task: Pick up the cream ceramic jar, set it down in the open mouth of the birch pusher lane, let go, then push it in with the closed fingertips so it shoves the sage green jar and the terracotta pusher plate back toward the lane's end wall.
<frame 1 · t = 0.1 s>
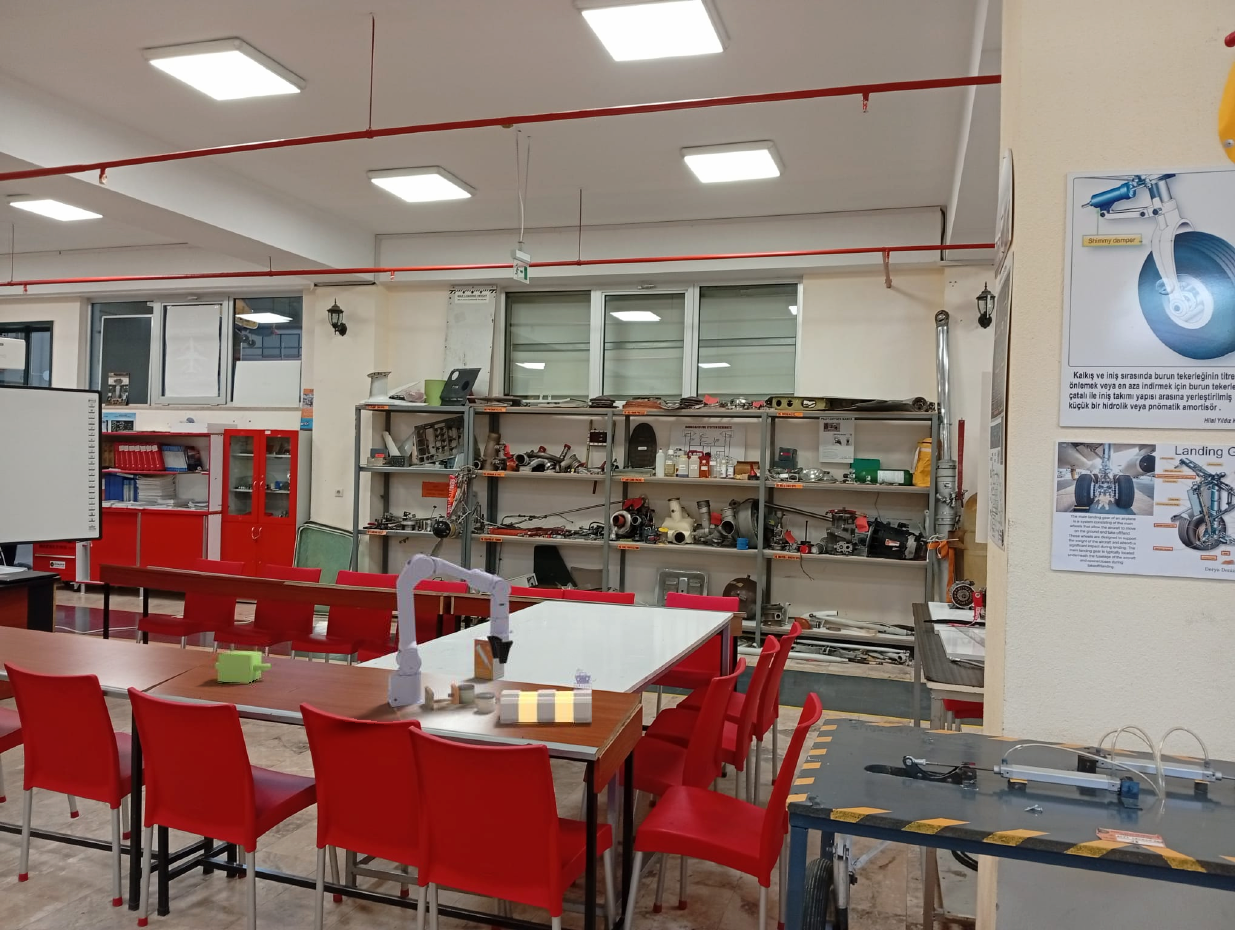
hand: (499, 660, 272), 10 cm above the table, tool pointing down, fingers open, 7 cm apart
pusher: (452, 695, 257), point 3 cm above the table, slide at 0.0 cm
small box: (489, 677, 293), on the table
lane: (461, 705, 258), on the table
gearbox: (243, 681, 290), on the table
cream jar: (486, 712, 251), on the table
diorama: (547, 720, 244), on the table
green jar: (466, 702, 259), resting on lane
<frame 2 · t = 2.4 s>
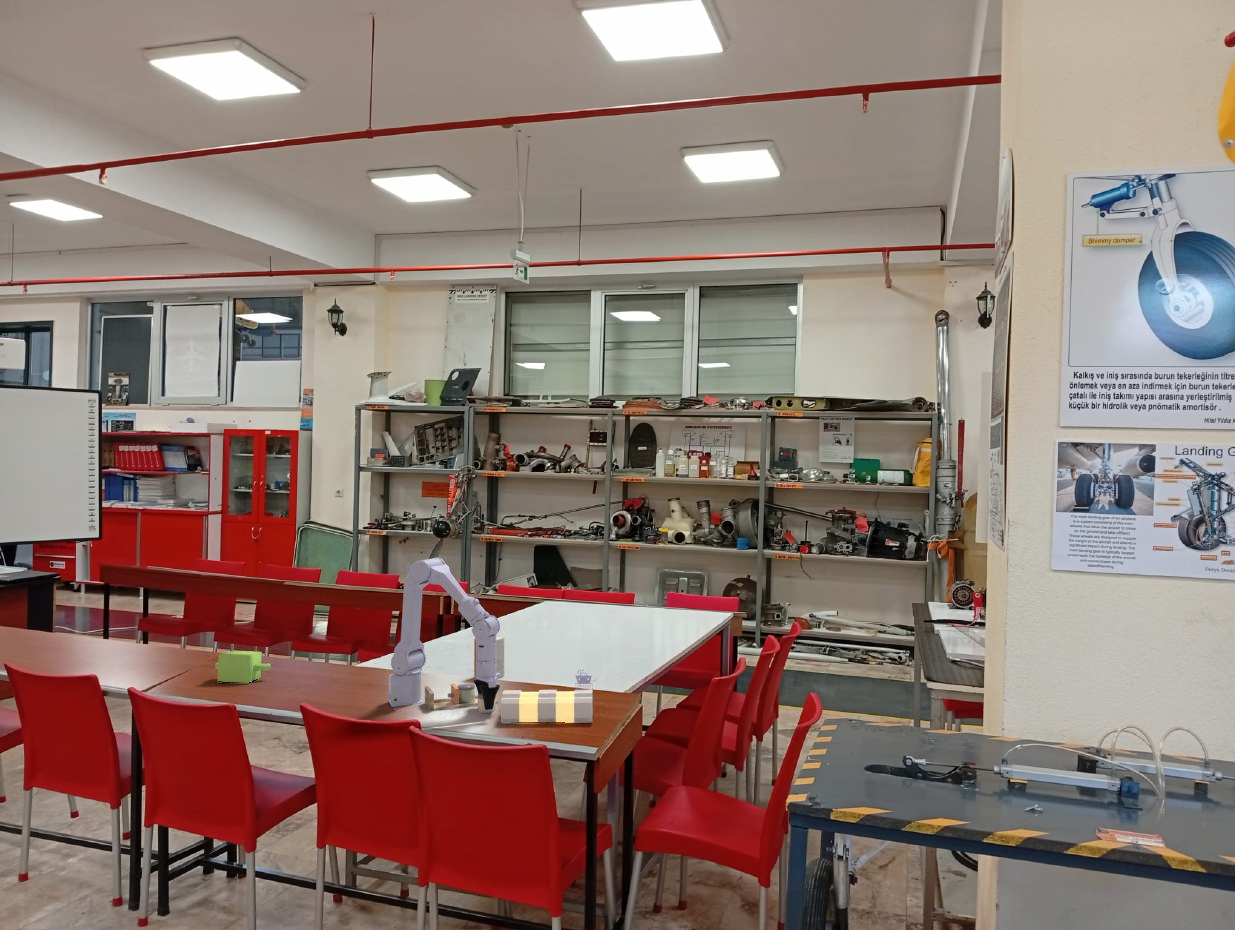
hand: (486, 706, 251), 1 cm above the table, tool pointing down, fingers closed on cream jar, 5 cm apart
cream jar: (486, 711, 251), on the table, touching gripper
everything else where it was.
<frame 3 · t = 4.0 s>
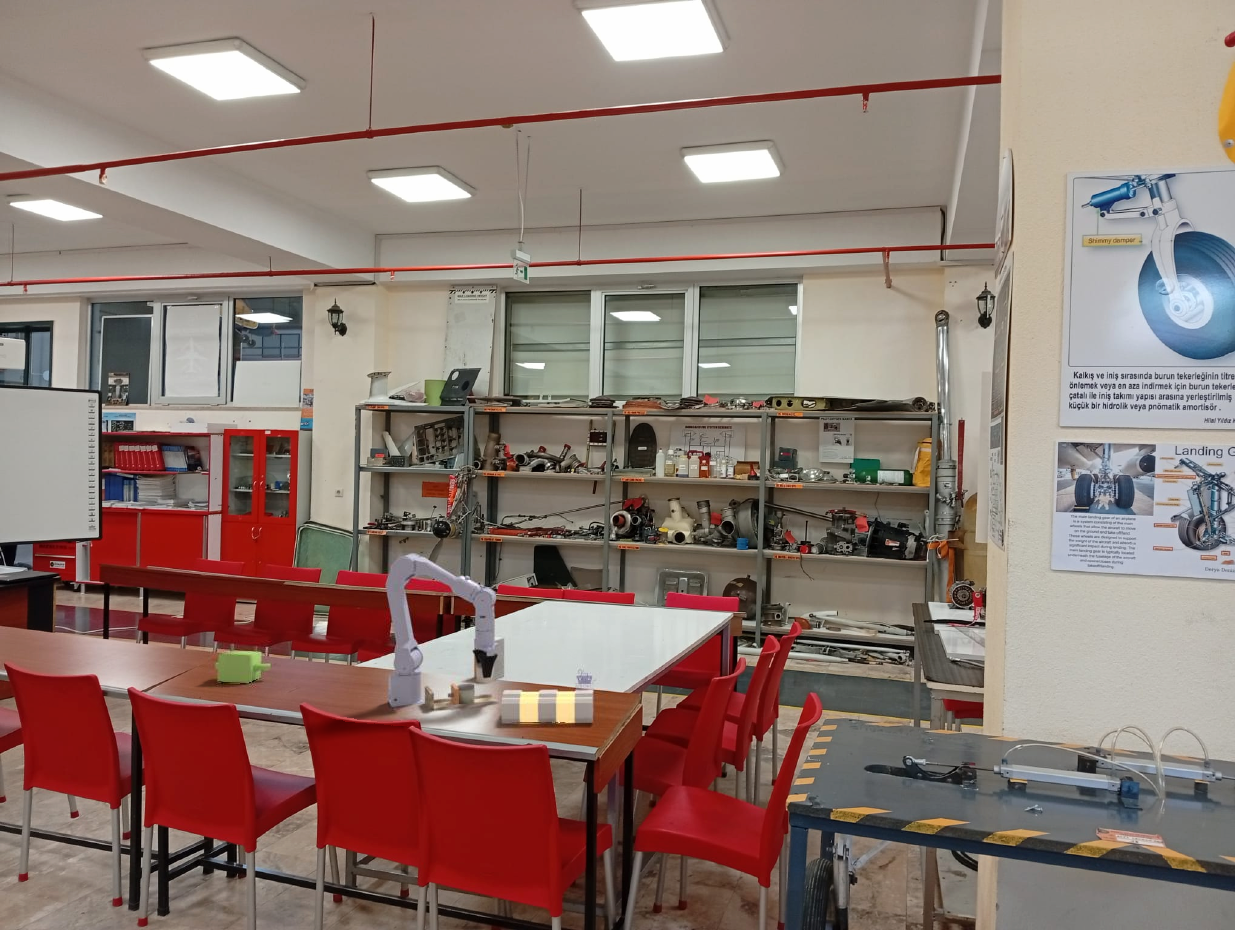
hand: (484, 675, 260), 8 cm above the table, tool pointing down, fingers closed on cream jar, 5 cm apart
cream jar: (485, 680, 260), point 7 cm above the table, touching gripper
everything else where it was.
when the fingers open (2 cm above the table, at t = 5.8 s): cream jar stays where it is, resting on lane.
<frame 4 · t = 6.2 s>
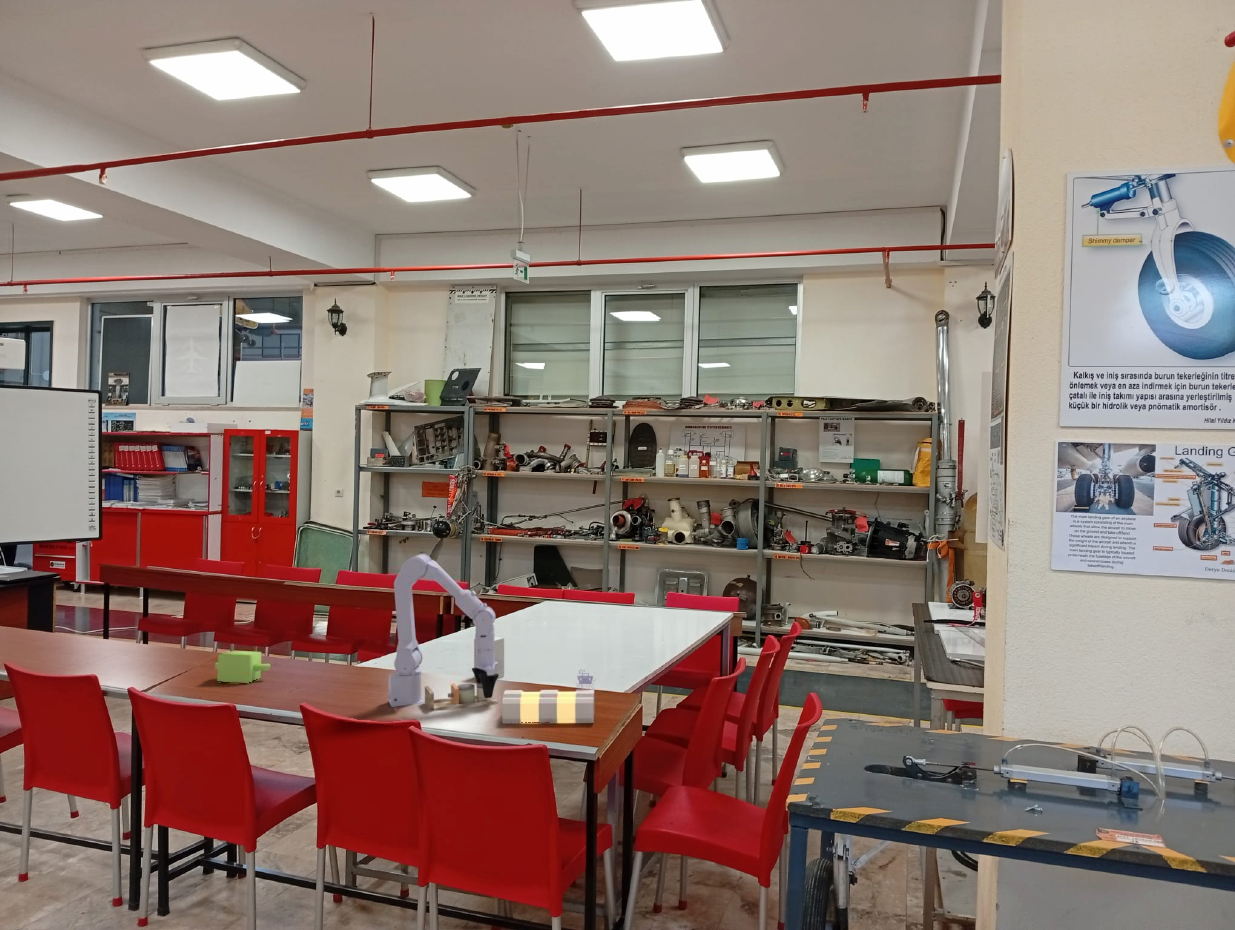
hand: (485, 694, 261), 2 cm above the table, tool pointing down, fingers open, 7 cm apart
cream jar: (485, 700, 261), point 1 cm above the table, touching lane
everything else where it was.
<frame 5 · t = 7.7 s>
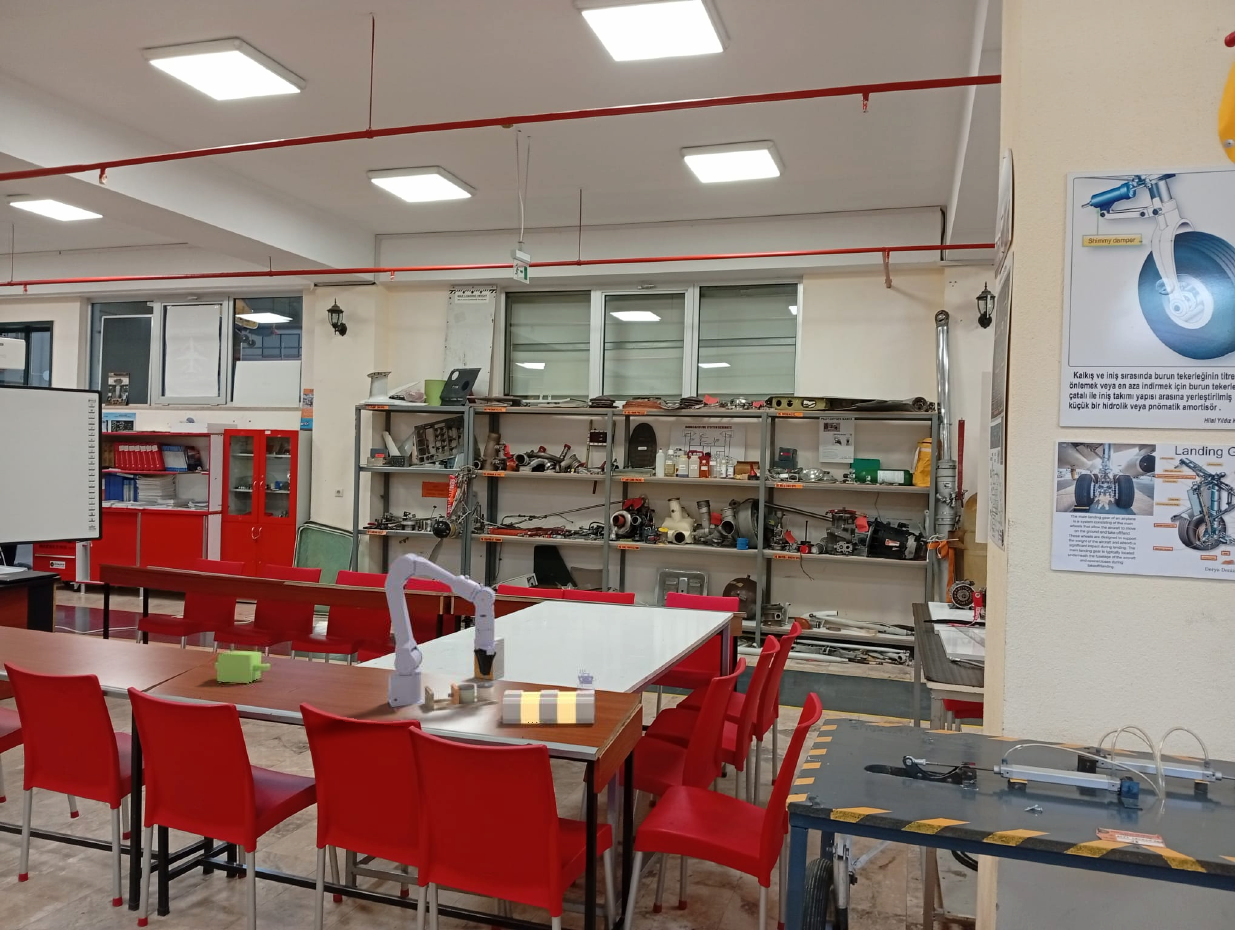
hand: (484, 674, 261), 8 cm above the table, tool pointing down, fingers closed
nothing on the table moved.
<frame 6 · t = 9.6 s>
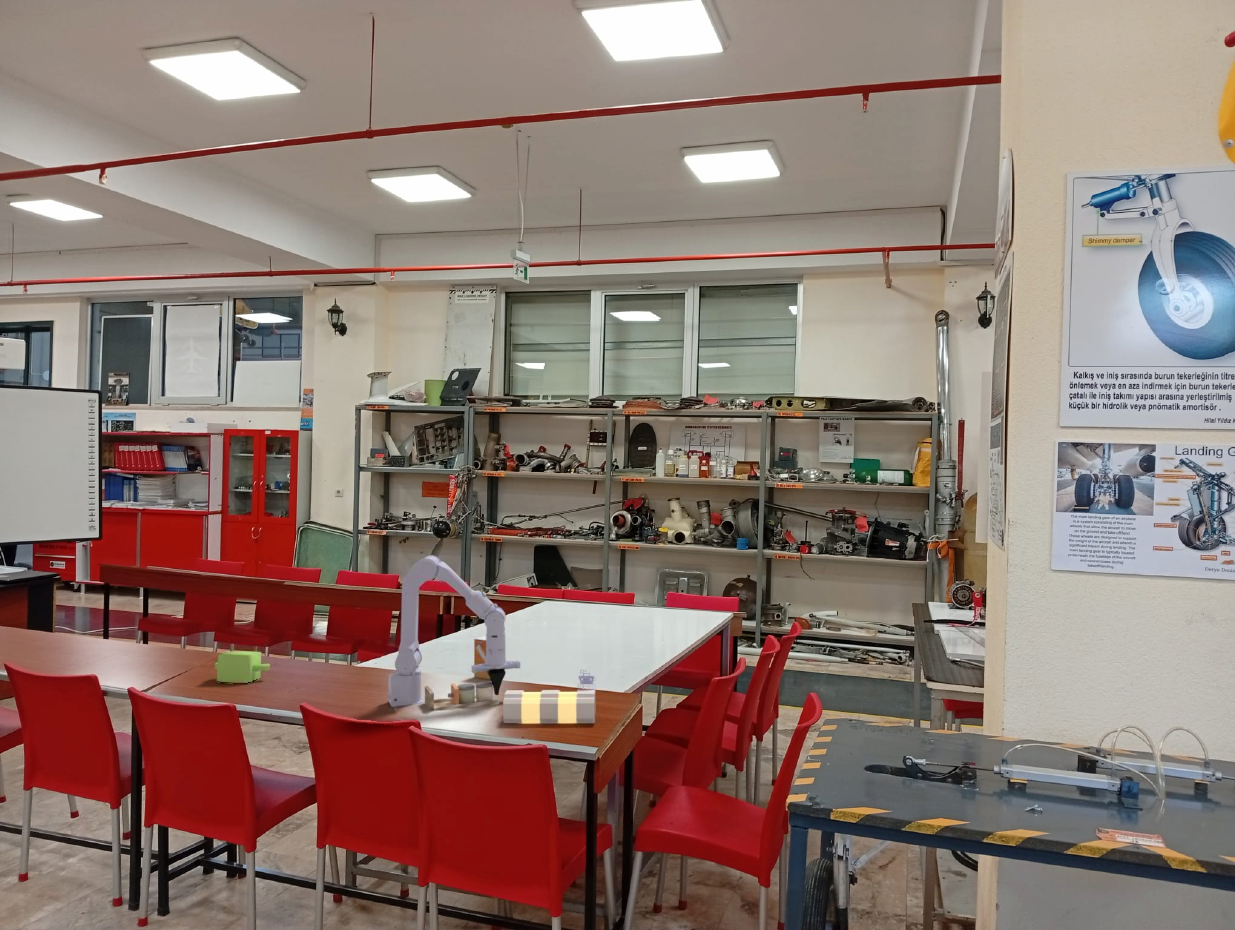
hand: (496, 694, 262), 2 cm above the table, tool pointing down, fingers closed, pressing on cream jar
cream jar: (484, 700, 261), point 1 cm above the table, touching gripper, lane
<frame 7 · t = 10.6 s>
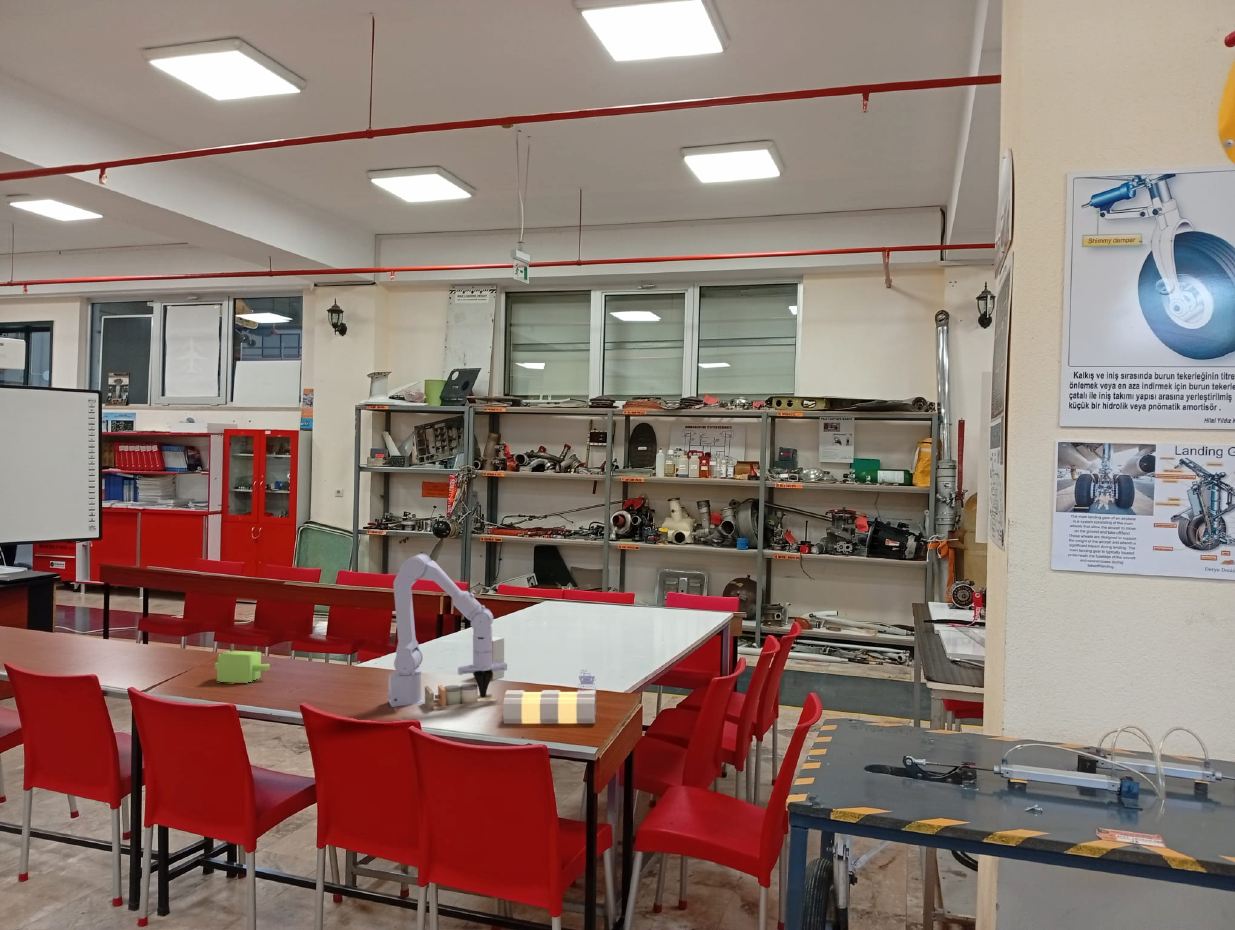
hand: (482, 696, 261), 2 cm above the table, tool pointing down, fingers closed
pusher: (439, 696, 256), point 3 cm above the table, slide at 3.8 cm
cream jar: (469, 702, 259), point 1 cm above the table, touching green jar, gripper, lane
green jar: (452, 704, 257), resting on lane, touching cream jar
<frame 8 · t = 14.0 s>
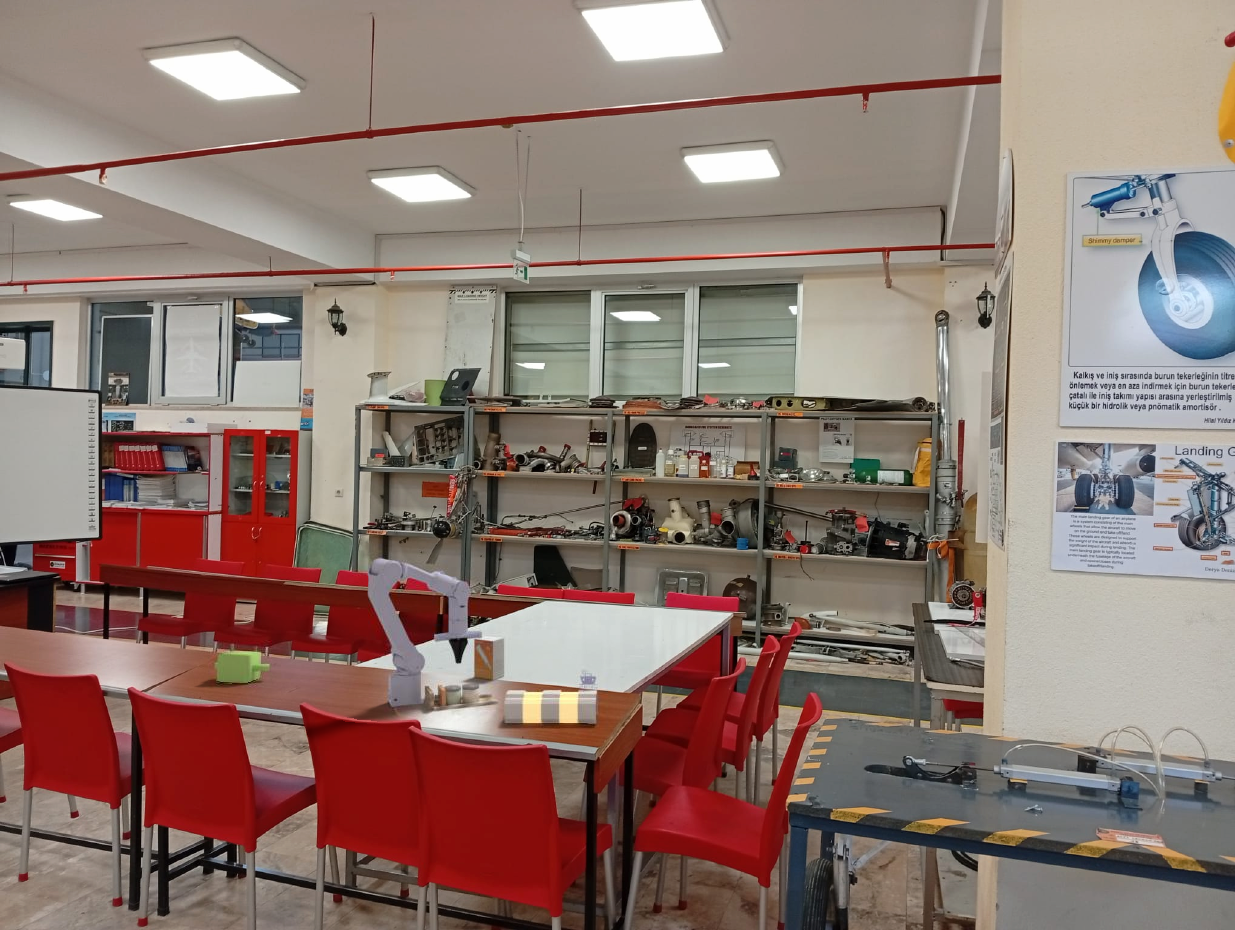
hand: (458, 662, 272), 9 cm above the table, tool pointing down, fingers closed
cream jar: (470, 702, 259), resting on lane
green jar: (452, 704, 257), point 1 cm above the table, touching lane
at the end: cream jar 0.8 cm from the target spot on the lane, point 0.5 cm above the lane's base; pusher slide at 3.9 cm; cream jar tilted 0° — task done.
